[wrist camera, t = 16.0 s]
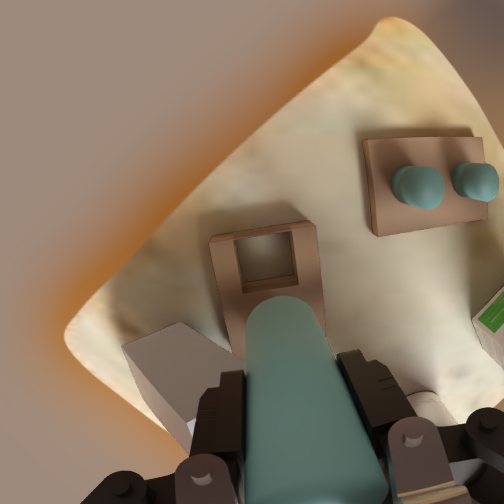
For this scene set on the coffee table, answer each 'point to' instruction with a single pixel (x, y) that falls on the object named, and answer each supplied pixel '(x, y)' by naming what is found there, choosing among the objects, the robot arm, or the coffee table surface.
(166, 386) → the white rectangular block
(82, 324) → the coffee table surface
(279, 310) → the pin
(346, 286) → the coffee table surface
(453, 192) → the board
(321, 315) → the board
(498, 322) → the skincare box
